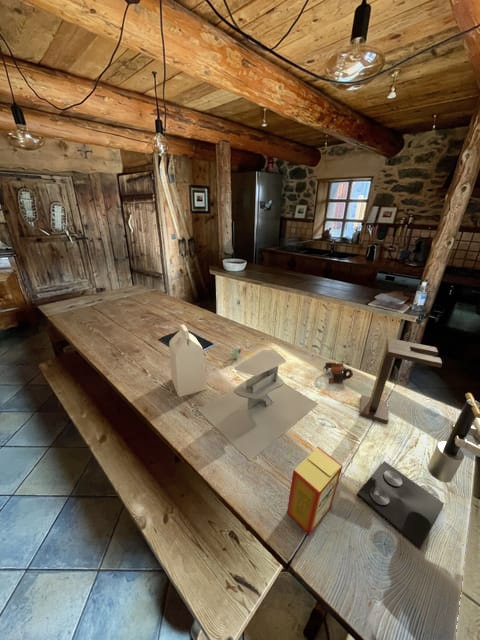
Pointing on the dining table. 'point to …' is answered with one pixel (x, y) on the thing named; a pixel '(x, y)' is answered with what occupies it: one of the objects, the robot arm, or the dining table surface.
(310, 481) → the baking soda box
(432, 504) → the stove
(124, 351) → the dining table surface
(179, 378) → the milk
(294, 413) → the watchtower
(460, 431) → the handle in metal cup
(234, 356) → the robot head
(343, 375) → the pottery mug
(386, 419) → the stand
